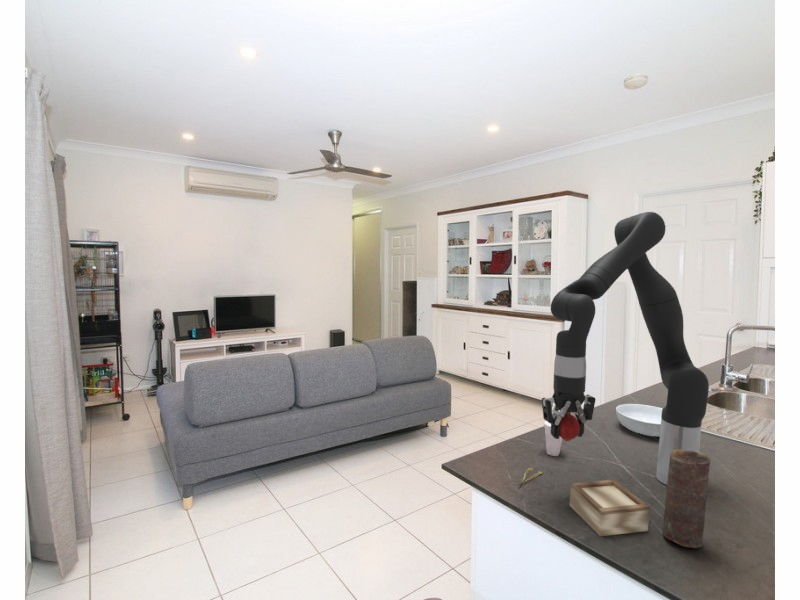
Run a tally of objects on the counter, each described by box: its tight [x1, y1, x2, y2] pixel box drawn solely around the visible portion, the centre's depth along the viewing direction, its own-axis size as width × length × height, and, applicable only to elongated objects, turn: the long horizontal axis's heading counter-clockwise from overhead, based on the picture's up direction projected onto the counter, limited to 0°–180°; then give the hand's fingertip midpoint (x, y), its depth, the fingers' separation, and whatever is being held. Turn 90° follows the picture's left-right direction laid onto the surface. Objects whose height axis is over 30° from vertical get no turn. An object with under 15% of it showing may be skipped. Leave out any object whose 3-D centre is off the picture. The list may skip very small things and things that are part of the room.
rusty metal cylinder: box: [662, 449, 711, 549], centre depth 93 cm, size 8×7×20 cm
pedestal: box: [569, 479, 651, 537], centre depth 102 cm, size 12×12×6 cm
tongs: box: [516, 467, 543, 489], centre depth 120 cm, size 4×13×2 cm, turn 145°
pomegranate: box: [559, 412, 580, 442], centre depth 110 cm, size 6×6×8 cm
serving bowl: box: [615, 403, 664, 438], centre depth 154 cm, size 21×21×7 cm
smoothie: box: [543, 420, 563, 457], centre depth 135 cm, size 6×6×14 cm
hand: (567, 436), depth 110 cm, fingers closed on pomegranate, 5 cm apart
